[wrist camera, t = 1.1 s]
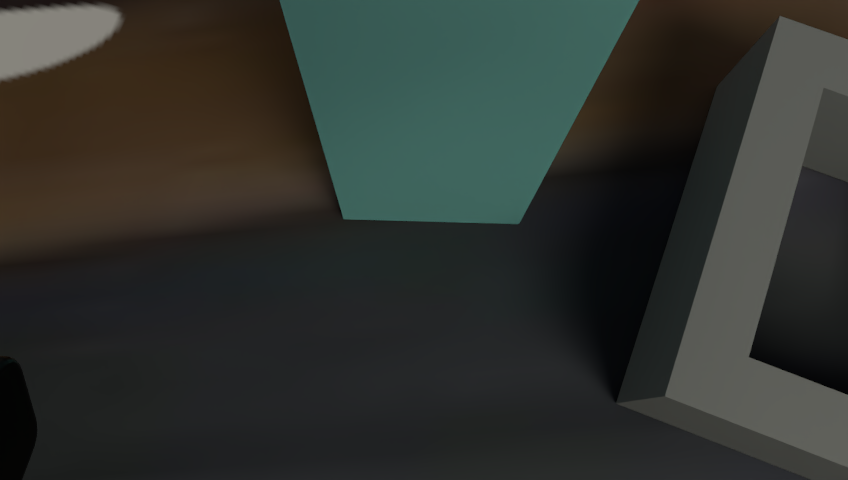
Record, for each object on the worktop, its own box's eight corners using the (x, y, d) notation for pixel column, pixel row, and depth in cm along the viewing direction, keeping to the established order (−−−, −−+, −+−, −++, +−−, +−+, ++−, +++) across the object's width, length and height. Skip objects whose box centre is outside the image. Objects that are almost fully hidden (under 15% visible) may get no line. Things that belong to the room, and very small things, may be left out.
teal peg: (519, 223, 22) (674, -66, 9) (343, 219, 22) (255, -79, 9) (517, 64, 23) (652, -386, 10) (351, 58, 23) (284, -400, 10)
